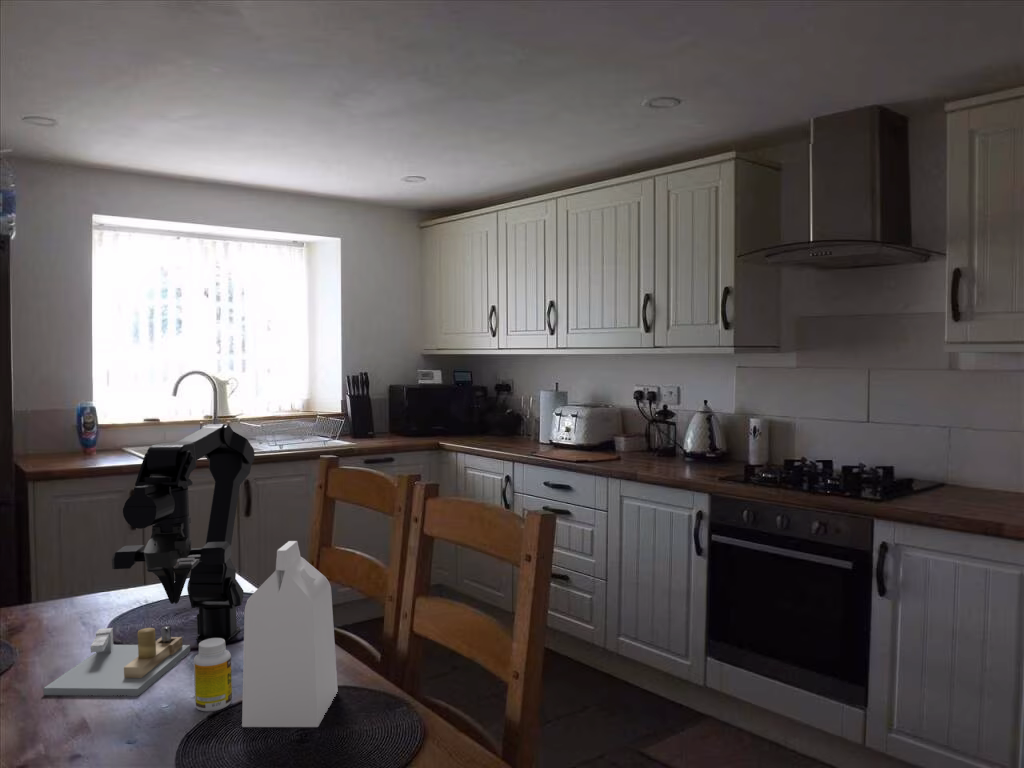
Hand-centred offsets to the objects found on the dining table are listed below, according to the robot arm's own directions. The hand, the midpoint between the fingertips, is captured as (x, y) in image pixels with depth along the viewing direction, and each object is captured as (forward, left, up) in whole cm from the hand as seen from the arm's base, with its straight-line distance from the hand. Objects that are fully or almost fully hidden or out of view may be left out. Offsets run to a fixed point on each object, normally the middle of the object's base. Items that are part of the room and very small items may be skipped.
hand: (174, 603), depth 141 cm
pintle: (+5, -5, -11) cm, 13 cm away
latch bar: (+5, 0, -11) cm, 12 cm away
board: (+10, +1, -12) cm, 15 cm away
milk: (-26, +15, -12) cm, 32 cm away
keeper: (+15, -3, -11) cm, 19 cm away
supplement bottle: (-12, +14, -12) cm, 22 cm away
